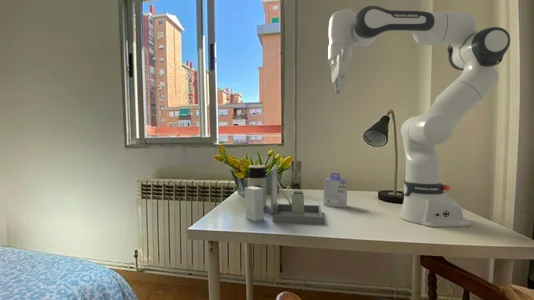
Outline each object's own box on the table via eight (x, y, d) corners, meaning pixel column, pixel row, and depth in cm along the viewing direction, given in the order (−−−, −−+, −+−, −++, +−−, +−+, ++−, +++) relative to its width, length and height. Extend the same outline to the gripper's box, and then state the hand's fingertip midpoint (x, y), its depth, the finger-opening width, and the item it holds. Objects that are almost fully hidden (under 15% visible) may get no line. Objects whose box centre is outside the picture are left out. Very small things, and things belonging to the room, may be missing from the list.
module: (303, 214, 106) (303, 190, 106) (303, 218, 102) (303, 192, 101) (292, 214, 107) (292, 190, 106) (291, 217, 103) (291, 192, 102)
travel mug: (250, 204, 124) (250, 164, 123) (267, 204, 123) (267, 165, 122) (245, 208, 117) (245, 166, 115) (264, 209, 115) (264, 167, 114)
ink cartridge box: (346, 205, 123) (347, 173, 122) (346, 208, 117) (347, 175, 116) (323, 203, 125) (324, 172, 124) (323, 207, 120) (323, 174, 119)
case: (319, 212, 112) (320, 165, 111) (322, 225, 96) (323, 171, 94) (275, 210, 114) (275, 165, 113) (270, 223, 98) (271, 170, 97)
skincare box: (264, 220, 101) (264, 188, 100) (254, 223, 98) (254, 189, 97) (253, 216, 105) (253, 185, 105) (244, 219, 102) (244, 187, 102)
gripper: (353, 46, 93) (352, 87, 94) (344, 61, 113) (344, 95, 114) (334, 46, 94) (333, 87, 95) (329, 62, 114) (328, 95, 115)
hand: (339, 92), depth 105 cm, fingers open, 8 cm apart
